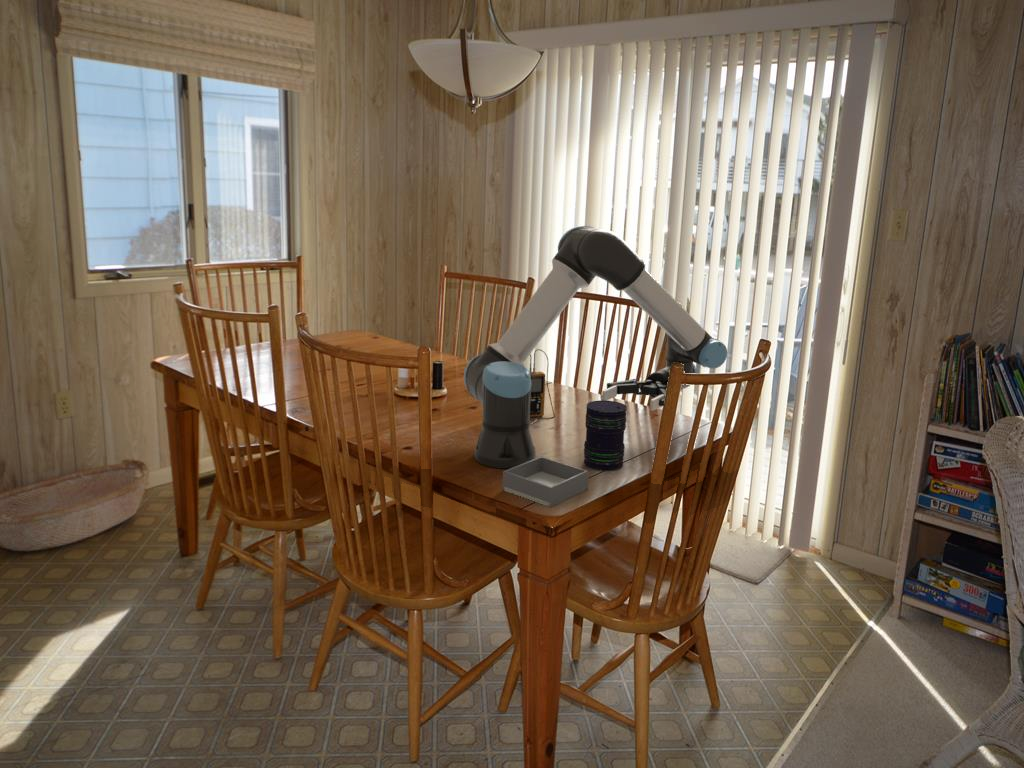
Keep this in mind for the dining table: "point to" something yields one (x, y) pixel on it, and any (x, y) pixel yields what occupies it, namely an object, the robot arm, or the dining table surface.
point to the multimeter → (538, 392)
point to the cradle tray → (545, 481)
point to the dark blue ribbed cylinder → (605, 435)
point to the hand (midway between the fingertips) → (626, 400)
